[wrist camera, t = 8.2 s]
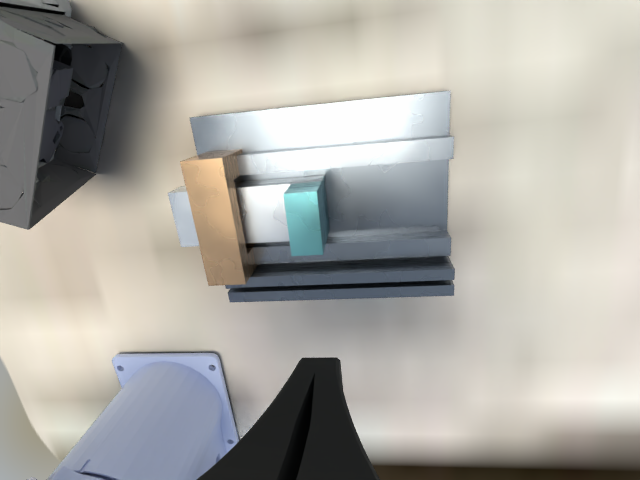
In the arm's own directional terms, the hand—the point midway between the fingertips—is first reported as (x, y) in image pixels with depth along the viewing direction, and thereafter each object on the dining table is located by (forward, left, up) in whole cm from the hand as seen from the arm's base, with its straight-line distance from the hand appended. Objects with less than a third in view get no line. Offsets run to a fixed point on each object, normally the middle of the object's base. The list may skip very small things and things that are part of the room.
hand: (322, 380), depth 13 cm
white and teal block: (+4, +4, -9) cm, 11 cm away
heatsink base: (+4, 0, -10) cm, 11 cm away
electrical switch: (+10, +13, -10) cm, 20 cm away
